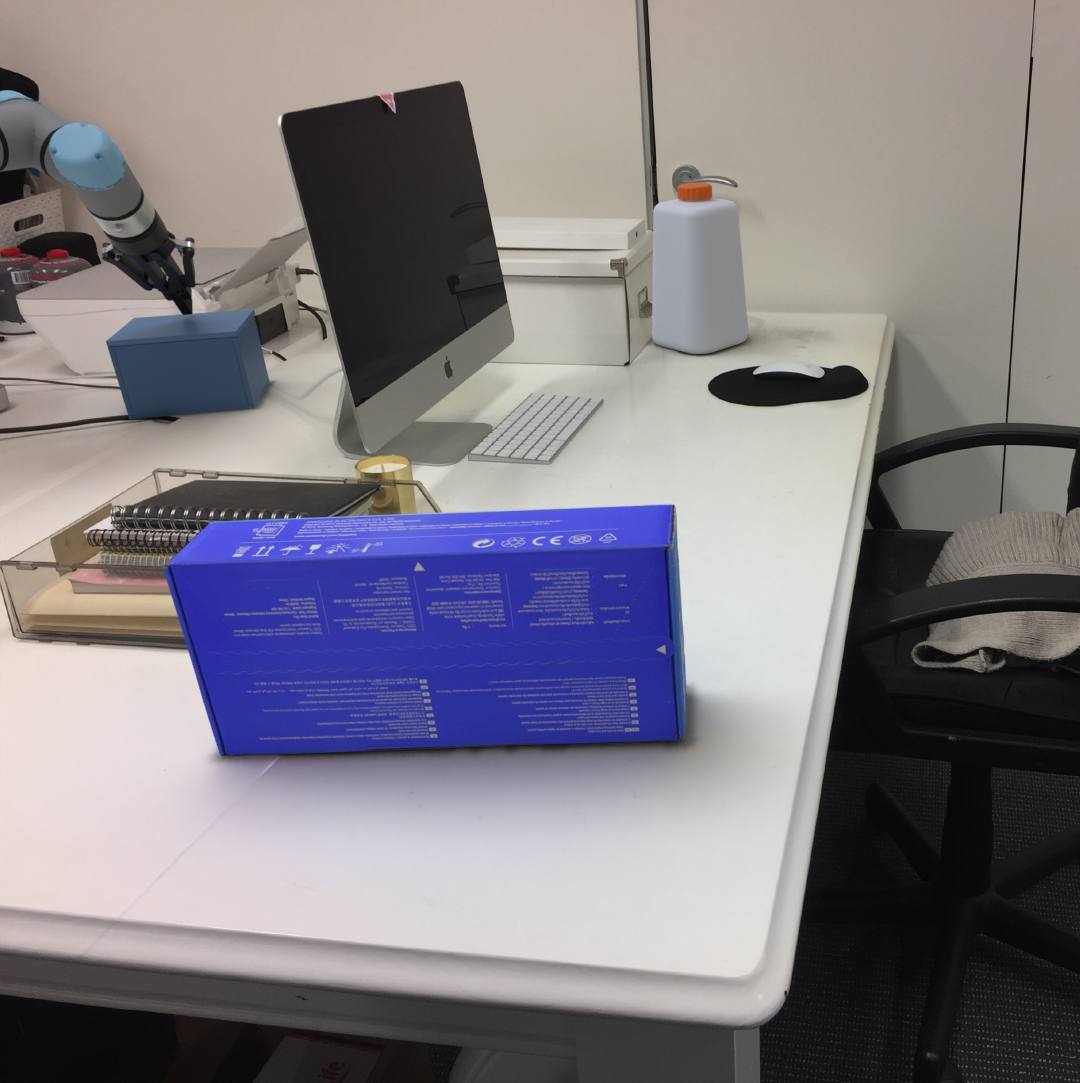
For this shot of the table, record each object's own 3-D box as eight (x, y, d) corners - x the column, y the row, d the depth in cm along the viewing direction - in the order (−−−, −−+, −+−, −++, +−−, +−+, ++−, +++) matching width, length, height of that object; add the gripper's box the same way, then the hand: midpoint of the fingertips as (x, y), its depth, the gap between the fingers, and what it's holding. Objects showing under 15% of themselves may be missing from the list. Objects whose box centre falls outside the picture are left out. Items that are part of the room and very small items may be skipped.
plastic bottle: (700, 327, 202) (694, 176, 190) (758, 340, 193) (756, 182, 180) (643, 344, 193) (633, 186, 180) (701, 359, 183) (694, 193, 171)
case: (153, 393, 174) (133, 324, 169) (270, 383, 177) (254, 315, 172) (129, 420, 162) (107, 347, 157) (254, 409, 165) (237, 336, 160)
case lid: (135, 323, 170) (133, 317, 169) (255, 314, 173) (254, 309, 172) (107, 346, 157) (105, 341, 156) (237, 336, 160) (236, 331, 160)
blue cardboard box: (687, 688, 93) (678, 501, 85) (685, 746, 86) (675, 547, 77) (256, 700, 93) (205, 514, 85) (217, 759, 86) (156, 562, 78)
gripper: (76, 243, 143) (144, 331, 166) (177, 237, 146) (230, 324, 168) (78, 198, 146) (144, 290, 168) (177, 192, 148) (229, 284, 170)
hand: (187, 307), depth 168 cm, fingers closed
